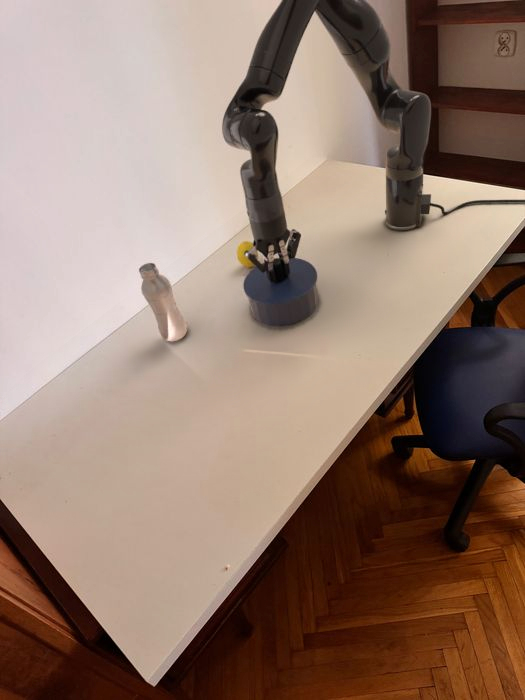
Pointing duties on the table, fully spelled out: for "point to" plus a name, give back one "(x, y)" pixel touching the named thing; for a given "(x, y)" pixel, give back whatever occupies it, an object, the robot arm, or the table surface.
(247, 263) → the lemon
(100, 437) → the table surface
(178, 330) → the plastic bottle
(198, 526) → the table surface
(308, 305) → the pot
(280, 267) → the pot lid
